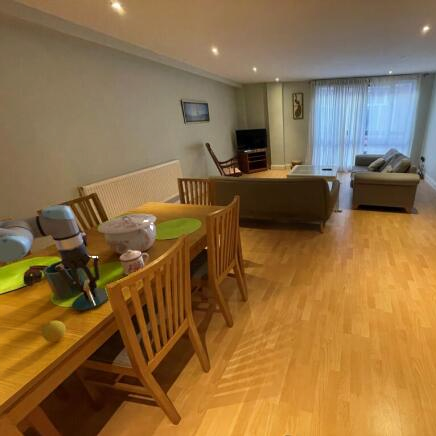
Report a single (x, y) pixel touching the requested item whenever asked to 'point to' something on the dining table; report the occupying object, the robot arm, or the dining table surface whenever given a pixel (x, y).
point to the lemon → (53, 331)
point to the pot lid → (93, 301)
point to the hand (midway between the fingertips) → (91, 296)
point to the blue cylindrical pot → (62, 281)
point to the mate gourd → (84, 238)
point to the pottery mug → (33, 274)
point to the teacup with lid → (132, 261)
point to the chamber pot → (129, 232)
